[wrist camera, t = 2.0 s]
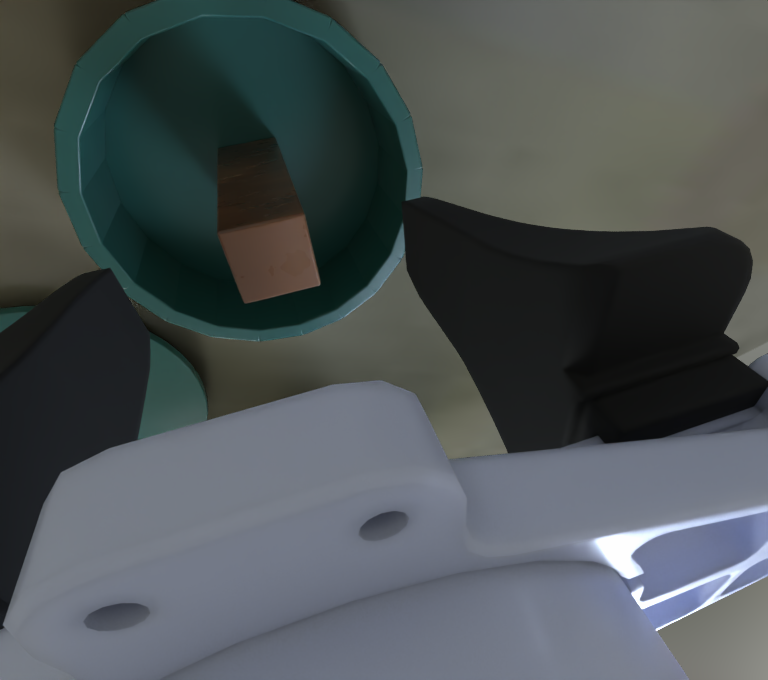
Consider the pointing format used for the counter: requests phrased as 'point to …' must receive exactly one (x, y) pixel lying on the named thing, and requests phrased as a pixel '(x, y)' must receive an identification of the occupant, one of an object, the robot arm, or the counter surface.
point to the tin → (225, 128)
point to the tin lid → (157, 385)
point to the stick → (262, 222)
